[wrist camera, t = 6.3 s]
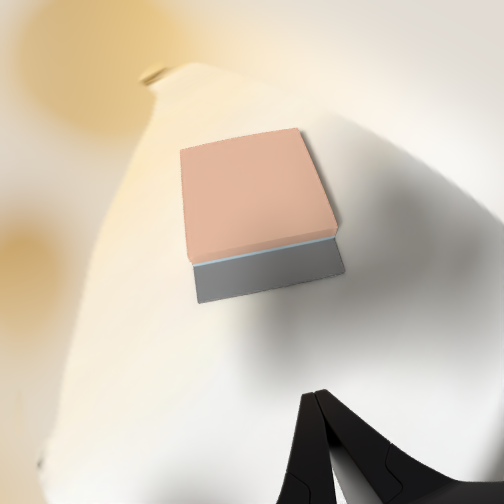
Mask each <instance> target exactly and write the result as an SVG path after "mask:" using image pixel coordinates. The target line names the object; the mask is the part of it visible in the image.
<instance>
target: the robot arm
mask: <svg viewBox="0 0 504 504" xmlns="http://www.w3.org/2000/svg"><path fill="white" fill-rule="evenodd" d="M390 443H391V442H390V441H389V440H387V439H386V438H385V437H384V436H382V435H381V434H380V433H379V432H377V431H376V430H375V429H374V428H372V427H371V426H370V425H369V424H367V423H366V422H365V421H364V420H362V419H361V418H360V417H359V416H357V415H356V414H355V413H354V412H353V411H351V410H350V409H349V408H348V407H347V406H345V405H344V404H343V403H342V402H341V401H339V400H338V399H337V398H336V397H335V396H333V395H332V394H331V393H330V392H329V391H328V390H326V389H323V390H318V391H315V392H314V393H313V392H310V393H305V394H302V396H301V401H300V406H299V411H298V417H297V422H296V427H295V432H294V437H293V442H292V447H291V451H290V456H289V460H288V465H287V469H286V473H285V477H284V482H283V485H282V488H281V492H280V495H279V497H278V500H277V503H276V504H337V501H336V494H335V486H334V479H333V472H332V468H333V470H334V473H335V475H336V478H337V480H338V483H339V485H340V487H341V490H342V492H343V495H344V497H345V500H346V502H347V504H504V481H495V482H465V481H459V480H455V479H452V478H450V477H447V476H445V475H443V474H441V473H440V472H438V471H436V470H434V469H432V468H430V467H428V466H426V465H424V464H422V463H421V462H419V461H417V460H416V459H414V458H412V457H411V456H409V455H408V454H406V453H405V452H403V451H402V450H400V449H399V448H398V447H397V446H395V445H394V444H393V443H391V444H390Z"/></svg>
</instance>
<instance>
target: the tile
mask: <svg viewBox="0 0 504 504" xmlns="http://www.w3.org/2000/svg"><path fill="white" fill-rule="evenodd" d="M180 161H181V180H182V196H183V210H184V223H185V235H186V246H187V256H188V259H189V260H190V262H191V263H192V265H193V266H194V267H196V266H201V265H206V264H211V263H215V262H220V261H225V260H230V259H235V258H240V257H245V256H250V255H255V254H260V253H265V252H270V251H275V250H279V249H284V248H289V247H294V246H299V245H304V244H309V243H314V242H319V241H323V240H328V239H333V238H335V235H336V232H337V229H338V225H337V222H336V220H335V217H334V214H333V212H332V209H331V206H330V204H329V201H328V199H327V196H326V194H325V191H324V189H323V186H322V184H321V181H320V179H319V176H318V174H317V171H316V169H315V167H314V164H313V162H312V160H311V157H310V155H309V153H308V150H307V148H306V146H305V144H304V141H303V139H302V137H301V135H300V132H299V130H298V128H292V129H285V130H278V131H271V132H265V133H259V134H253V135H248V136H242V137H237V138H232V139H227V140H222V141H217V142H212V143H208V144H203V145H199V146H195V147H190V148H186V149H182V150H180Z"/></svg>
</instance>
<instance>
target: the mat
mask: <svg viewBox="0 0 504 504" xmlns="http://www.w3.org/2000/svg"><path fill="white" fill-rule="evenodd" d="M193 267H194V266H193ZM344 272H345V270H344V267H343V264H342V261H341V258H340V255H339V252H338V249H337V246H336V243H335V240H334V238H333V239H328V240H323V241H319V242H314V243H309V244H304V245H299V246H294V247H289V248H284V249H279V250H275V251H270V252H265V253H260V254H255V255H250V256H245V257H240V258H235V259H230V260H225V261H220V262H215V263H211V264H206V265H201V266H196V267H194V276H195V284H196V292H197V300H198V303H199V304H200V303H205V302H211V301H216V300H221V299H226V298H231V297H237V296H242V295H247V294H252V293H257V292H261V291H266V290H271V289H276V288H281V287H285V286H290V285H295V284H299V283H304V282H308V281H313V280H317V279H322V278H326V277H330V276H335V275H339V274H343V273H344Z"/></svg>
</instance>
